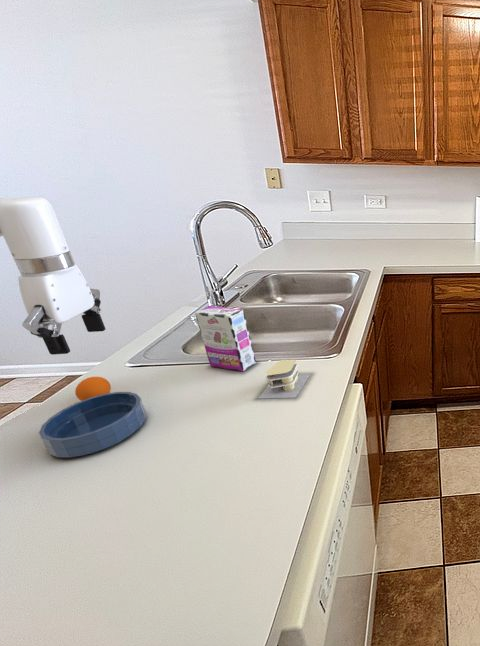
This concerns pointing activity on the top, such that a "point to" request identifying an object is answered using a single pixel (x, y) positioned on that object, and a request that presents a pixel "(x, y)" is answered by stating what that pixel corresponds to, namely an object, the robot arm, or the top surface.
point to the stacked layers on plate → (284, 380)
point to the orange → (92, 388)
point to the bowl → (93, 424)
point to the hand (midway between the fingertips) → (79, 341)
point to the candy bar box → (226, 338)
